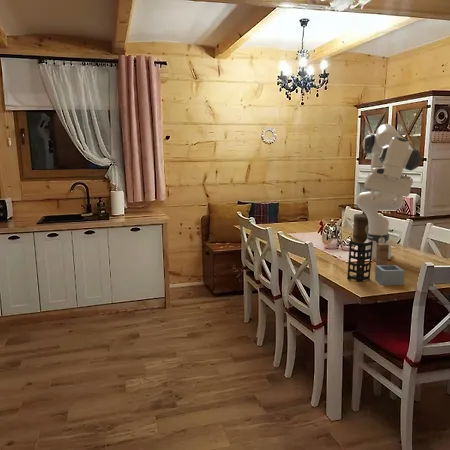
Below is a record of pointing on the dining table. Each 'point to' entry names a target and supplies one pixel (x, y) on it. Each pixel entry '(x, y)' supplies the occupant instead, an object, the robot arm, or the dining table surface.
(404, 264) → the dining table surface
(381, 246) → the peg
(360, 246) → the holder
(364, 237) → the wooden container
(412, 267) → the dining table surface
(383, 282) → the box
